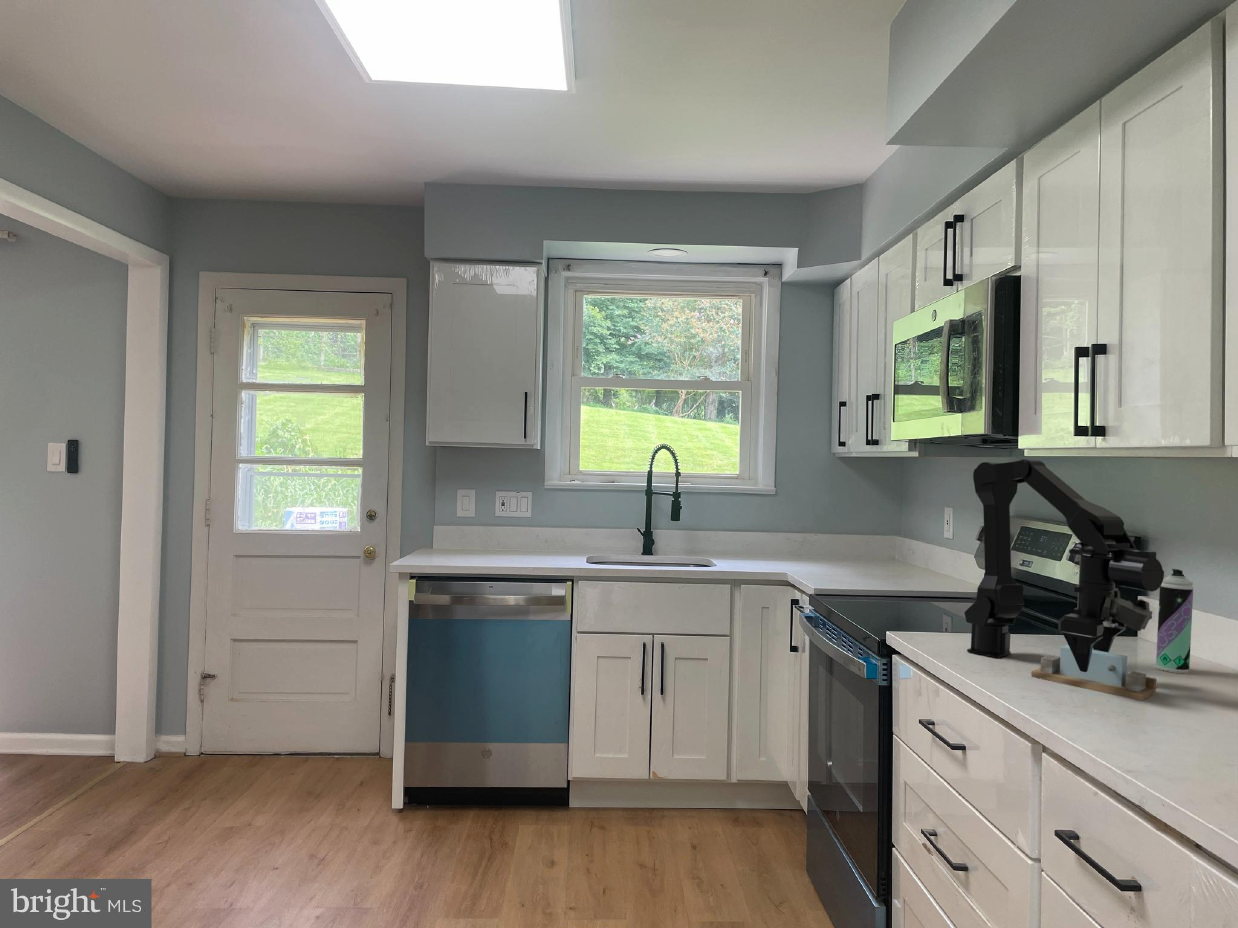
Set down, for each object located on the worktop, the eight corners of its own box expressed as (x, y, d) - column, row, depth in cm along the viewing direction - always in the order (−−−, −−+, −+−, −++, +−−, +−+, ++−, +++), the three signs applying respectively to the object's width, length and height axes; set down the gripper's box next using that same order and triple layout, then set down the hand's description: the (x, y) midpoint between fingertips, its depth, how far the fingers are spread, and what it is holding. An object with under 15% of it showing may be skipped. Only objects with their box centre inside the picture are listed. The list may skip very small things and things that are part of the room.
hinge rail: (1031, 676, 152) (1032, 657, 152) (1047, 670, 157) (1048, 651, 157) (1142, 700, 139) (1143, 679, 139) (1155, 692, 144) (1156, 672, 144)
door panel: (1058, 674, 150) (1059, 647, 150) (1065, 671, 153) (1066, 644, 153) (1119, 687, 143) (1121, 658, 143) (1126, 683, 146) (1127, 655, 145)
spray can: (1149, 666, 164) (1154, 567, 163) (1169, 665, 165) (1174, 567, 165) (1175, 674, 158) (1180, 571, 158) (1195, 672, 160) (1201, 571, 160)
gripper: (1131, 593, 136) (1126, 686, 136) (1163, 584, 148) (1159, 670, 148) (1059, 583, 144) (1055, 671, 144) (1095, 576, 156) (1091, 657, 157)
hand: (1092, 667), depth 148 cm, fingers open, 9 cm apart
